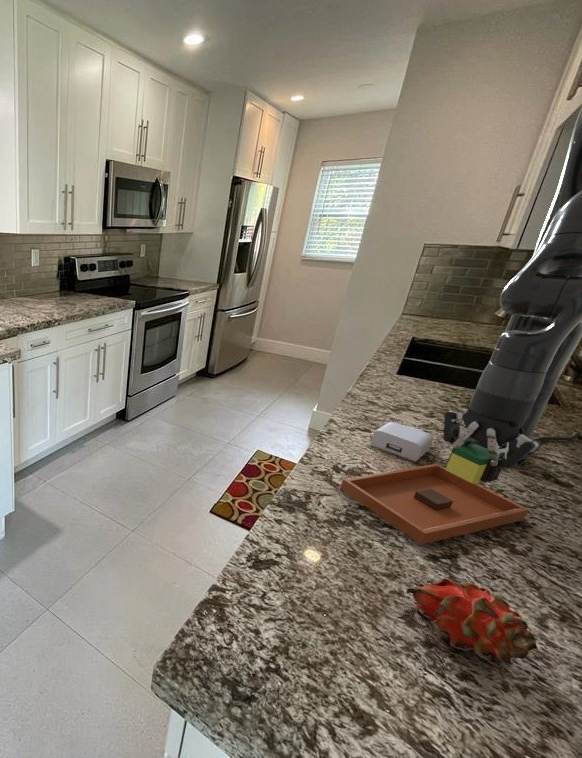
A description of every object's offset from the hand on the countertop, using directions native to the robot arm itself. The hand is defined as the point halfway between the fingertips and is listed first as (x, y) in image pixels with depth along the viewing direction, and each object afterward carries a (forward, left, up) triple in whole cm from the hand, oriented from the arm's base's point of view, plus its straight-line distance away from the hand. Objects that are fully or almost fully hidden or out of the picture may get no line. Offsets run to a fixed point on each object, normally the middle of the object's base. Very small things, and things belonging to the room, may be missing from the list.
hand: (469, 473), depth 78 cm
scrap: (+7, 0, -6) cm, 9 cm away
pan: (+8, 0, -6) cm, 10 cm away
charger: (-11, -19, -6) cm, 23 cm away
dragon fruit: (+33, +21, -6) cm, 40 cm away
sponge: (0, 0, 0) cm, 0 cm away
